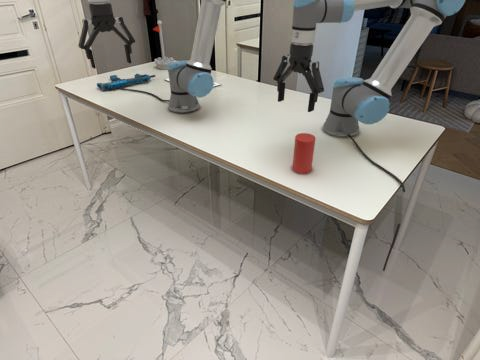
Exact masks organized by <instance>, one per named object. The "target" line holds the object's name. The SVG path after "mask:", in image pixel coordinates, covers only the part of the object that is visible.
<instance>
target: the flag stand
mask: <svg viewBox="0 0 480 360" xmlns="http://www.w3.org/2000/svg"><path fill="white" fill-rule="evenodd" d="M162 24H163V22H162V21H161V20H159V19H158V20H157V26H155V27H154V28H152V30H153V31H155V32H157V33H159V37H160V39H159V40H160V46H161V54H162V55H161V56H162V57H160V56H159V57H157V58H154V64H155V65H156V68H157V69H159V70H168V64H169V63H171V62H175V58H173V57H171V56H170V57H168V56H166V54H165V53H166V52H165V46H164V37H163V29H162Z"/></svg>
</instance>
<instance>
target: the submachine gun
mask: <svg viewBox="0 0 480 360" xmlns="http://www.w3.org/2000/svg"><path fill="white" fill-rule="evenodd" d="M152 78H156V74H152V75H149V74H146V73H145V74H140V73H135V74H134V77H130V78H121V77H118V75H116V74H114V75H109V79H110V80H111V81H110V82H103V83H102V82H96V87H97V88H99V89H100V90H101V91H105V90H112V89H113V90H117V89H116V88H122V87H126V86H130V85H135V84H140V83H145V82H146V83H147V82H149V81H150V80H151V79H152Z"/></svg>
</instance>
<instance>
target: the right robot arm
mask: <svg viewBox="0 0 480 360" xmlns="http://www.w3.org/2000/svg"><path fill="white" fill-rule="evenodd" d="M465 3H466V0H293V5H292V6H293V9H292V10H293V11H292V22H291V23H292V24H291V34H290V42H291V43H290V45H289V54H284V55H282V56H281V62H280V64H279V66H278V68H277V70H276V72H275V74H274V76H273V78H272V79H273V81H275V82H276V83H277V86H276V92H278V93H277V102H278V103H280V102H284V100H285V94H286V93H285V92H286V80H287V79H288V77H290V75H291V74H292V73H298V74H302V76H303V77H304V78H305V80H306V82H307V85H308V87H309V89H310V93H309V98H308V105H307V112H308V113H311V112H314V111H315V106H316V103H317V102H318V98H319V94H321V93H323V92H325V88H324V83H323V79H322V75H321V70H320V61H312V56H313V53H314V43H315V38H316V29H317V24H324V23H325V24H326V23H327V24H330V23H331V24H341V23H348V22H349V21H350V20H351V19H352V18H353V16H354V14H355V12H359V11H365V10H371V9H377V8H385V7H390V8H391V9H398V8H403V9H404V8H405V9H409V10H410V11H409V12H410V16H409V17H408V20H407V21H406V22H405V24H404V25H403V27H402V28H401V30H400V32H399V34H398V35H397V36H396V38H395V40H394V41H393V43H392V44H391V45H390V48H389V49H388V50H387V52H386V54H385V55H384V57H383V58H382V59H381V61H380V63H379V64H378V66H377V67H376V69H375V71H374V72H373V73H372V75H371V77H369V78H367V79H363V78H362V77H357V76H356V77H355V76H344V77H339V78H336V79H335V80H334V82H333V86H332V93H331V101H330V107H329V112H328V115H327V117H326V118H325V121H324V123H323V126H322V130H323V132H324V133H325V134H326V135H329V136H332V137H335V138H339V139H341V138H342V139H349V138H350V139H351V141H352V142H353V144H354V145H355V146H356V148H357V149H358V151H359V152H360V153H361V154H362V155H363V156H364V158H366V159H367V160H368V161H369V162H370V163H371V164H372V165H374V166H376V167H378V168H379V169H381V171H384V172H385V173H387V174H388V175H390V176H391V177H393V178H394V179H395V180H396V181H397V182H398V183H399V184H400V186H401V188H402V192H403V193H406V187H405V185H404V182H403V181H402V180H401V179H399V177H397V176H396V175H395V174H394V173H392V172H390V171H389V170H387V169H386V168H384V167H383V166H381V165H380V164H378V163H376V162H375V161H373V160H372V159H371V158H370V157H368V155H366V154H365V152H364V151H363V150H362V148H361V147H360V146H359V144H358V143H357V142H356V140H355V138H354V137H356V136H357V135H359V132H360V125H359V123H361V124H364V125H374V124H377V123H379V122H381V121H382V120H384V119H385V117H386V116H387V115H388V114H389V111H390V106H391V103H390V99H391V98H392V97H393V95H392V94H393V93H392V88H394V86H395V85H396V83H397V81H398V80H399V78H400V77H401V76H402V74H403V72H404V71H405V70H406V69H407V67H408V66H409V64H410V62H411V61H412V60H413V58H414V57H415V55H416V53H417V52H418V51H419V49H420V48H421V46H422V45H423V43H424V42H425V40H426V39H427V37H428V36H429V35H430V34H431V31H432V30H433V28H434V27H437V26H440V25H442V23H443V22H444V21H445V19H446V18H447V17H449V16H453V15H454V14H457V13H458V12H459V11H460V10H461V8H463V6H464V4H465ZM288 64H289V65H288ZM400 226H401V223H398V224H397V226H396V229H395V232H394V236H393V239H392V242H391V245H390V247H389V250H388V253H387V256H386V259H385V262H384V264H383V268H382V271H383V272H385V271H386V268H387V265H388V261H389V260H390V256H391V252H392V250H393V248H394V244H395V242H396V239H397V237H398V233H399V229H400Z"/></svg>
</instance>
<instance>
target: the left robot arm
mask: <svg viewBox="0 0 480 360" xmlns="http://www.w3.org/2000/svg"><path fill="white" fill-rule="evenodd" d="M200 1H201V2H200V7H199V12H198V18H197V22H196V29H195V34H194V39H193V43H192V48H191V55H190V59H189V60H187V59H186V60H177V61H175V60H174V62H171V63H169V64H168V69H167V74H168V78H169V81H170V82H169V81H168V82H169V89H170V96H169V97H170V98H169V99H162V98H161V97H159V96H158V95H155V94H154V93H151V92H149V91H144V90H139V89H132V88H125V87H117V88H116V89H115V90H123V91H129V92H130V91H131V92H138V93H144V94H147V95H150V96H152V97H155V98H156V99H158V100H160V102H168V110H169V111H170V112H172V113H175V114H188V113H193V112H196V111H198V110H199V108H200V103H199V100H198V98H204V97H206V96H208V95H209V94H210V93H211V92H212V90H213V88H214V87H213V85H214V82H215V81H214V78H213V76H212V70H213V68H212V66H211V58H212V54H213V49H214V43H215V40H216V34H217V30H218V26H219V25H218V24H219V19H220V15H221V10H222V7H223V6H225V5H226V3H227V0H200ZM87 2H88V3H89V4H88V9H89V14H90V17H91V18H90V19H86V18H83V19H82V28H81V33H80V37H79V40H78V48H79V49H80V50H84V52H85V57H86V59H87V60H89V62H90V67H91V68H92V69H96V68H97V67H96V63H95V58H94V54H93V50H92V49H91V47H92V45H93V43H94V42H95V39H96V38H97V36H98V35H99V33H107V32H108V33H110V32H113V33H114V34H115V35H116V36H118V37H119V38H120V39H121V40H122V41H123V42H124V43H125V44H123V45H124V46H123V47H124V52H125V59H126V62H127V63H128V64H132V58H131V55H132V54H133V50H132V49H133V48H132V46H133V44H134V43H136V39H135V38H134V36H133V34H132V33H131V31H130V30H129V29H128V27H127V25H126V24H125V21H124V17H123V16H120V15H119V16H117V17H115V16H114V11H113V5H112V3H110V2H111V0H87ZM116 23H117V24H119V26H120V28H121V29H122V31H123V32H124V34H125V35H126V36H125V35H124V34H123V33H121V31H119V29H118V28H117V27H116V26H115V24H116ZM91 25H92V26H93V28H92V31H91V33H90V35H89V37H88V39H87V36H88V32H89V27H90V26H91Z"/></svg>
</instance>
